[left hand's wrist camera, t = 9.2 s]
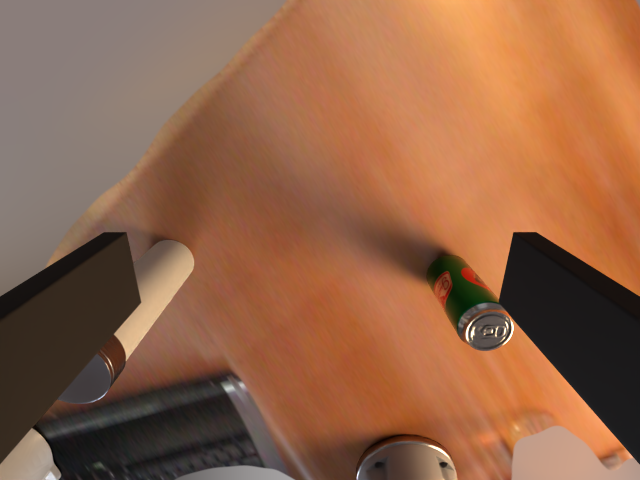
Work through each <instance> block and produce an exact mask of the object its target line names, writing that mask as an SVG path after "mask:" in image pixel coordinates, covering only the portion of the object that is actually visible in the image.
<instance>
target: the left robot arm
mask: <svg viewBox="0 0 640 480" xmlns="http://www.w3.org/2000/svg"><path fill="white" fill-rule="evenodd" d="M140 304H141V298H140V293H139V289H138V284H137V279H136V275H135V270H134V265H133V261H132V256H131V251H130V247H129V242H128V237H127V233H126V232H104V233H102V234H100V235H99V236H97V237H95V238H94V239H92V240H91V241H89V242H87V243H86V244H84V245H83V246H81V247H79V248H78V249H76V250H75V251H73V252H71V253H70V254H68V255H66V256H65V257H63V258H62V259H60V260H58V261H57V262H55V263H54V264H52V265H50V266H49V267H47V268H46V269H44V270H42V271H41V272H39V273H38V274H36V275H34V276H33V277H31V278H29V279H28V280H26V281H25V282H23V283H22V284H20V285H18V286H17V287H15V288H13V289H12V290H10V291H9V292H7V293H5V294H4V295H2V296H0V464H1V463H2V462H3V461H4V460H5V458H6V457H7V456H8V455H9V454H10V453H11V451H12V450H13V449H14V448H15V447H16V446H17V445H18V443H19V442H20V441H21V440H22V439H23V438H24V437H25V435H26V434H27V433H28V432H29V431H30V430H31V429H32V427H33V426H34V425H35V424H36V423H37V422H38V421H39V419H40V418H41V417H42V416H43V415H44V414H45V413H46V411H47V410H48V409H49V408H50V407H51V406H52V405H53V403H54V402H55V401H56V400H57V399H58V398H59V397H60V395H61V394H62V393H63V392H64V391H65V390H66V388H67V387H68V386H69V385H70V384H71V383H72V382H73V380H74V379H75V378H76V377H77V376H78V375H79V374H80V372H81V371H82V370H83V369H84V368H85V367H86V366H87V364H88V363H89V362H90V361H91V360H92V359H93V358H94V356H95V355H96V354H97V353H98V352H99V351H100V350H101V348H102V347H103V346H104V345H105V344H106V343H107V342H108V340H109V339H110V338H111V337H112V336H113V335H114V334H115V332H116V331H117V330H118V329H119V328H120V327H121V325H122V324H123V323H124V322H125V321H126V320H127V319H128V317H129V316H130V315H131V314H132V313H133V312H134V311H135V309H136V308H137V307H138V306H139V305H140ZM499 304H500V305H501V306H502V307H503V308H504V309H505V311H506V312H507V313H508V314H509V315H510V316H511V317H512V319H513V320H514V321H515V322H516V323H517V324H518V325H519V327H520V328H521V329H522V330H523V331H524V332H525V334H526V335H527V336H528V337H529V338H530V339H531V340H532V342H533V343H534V344H535V345H536V346H537V347H538V348H539V350H540V351H541V352H542V353H543V354H544V355H545V356H546V358H547V359H548V360H549V361H550V362H551V363H552V364H553V366H554V367H555V368H556V369H557V370H558V371H559V372H560V374H561V375H562V376H563V377H564V378H565V379H566V380H567V382H568V383H569V384H570V385H571V386H572V387H573V388H574V390H575V391H576V392H577V393H578V394H579V395H580V397H581V398H582V399H583V400H584V401H585V402H586V403H587V405H588V406H589V407H590V408H591V409H592V410H593V411H594V413H595V414H596V415H597V416H598V417H599V418H600V419H601V421H602V422H603V423H604V424H605V425H606V426H607V427H608V429H609V430H610V431H611V432H612V433H613V434H614V435H615V437H616V438H617V439H618V440H619V441H620V442H621V443H622V445H623V446H624V447H625V448H626V449H627V450H628V451H629V453H630V454H631V455H632V456H633V457H634V458H635V460H636V461H637V462H638V463H639V464H640V296H638V295H636V294H635V293H633V292H631V291H630V290H628V289H627V288H625V287H623V286H622V285H620V284H619V283H617V282H615V281H614V280H612V279H611V278H609V277H607V276H606V275H604V274H602V273H601V272H599V271H598V270H596V269H594V268H593V267H591V266H590V265H588V264H586V263H585V262H583V261H582V260H580V259H578V258H577V257H575V256H573V255H572V254H570V253H569V252H567V251H565V250H564V249H562V248H561V247H559V246H557V245H556V244H554V243H553V242H551V241H549V240H548V239H546V238H545V237H543V236H541V235H540V234H538V233H536V232H514V233H513V237H512V242H511V247H510V251H509V256H508V261H507V265H506V270H505V275H504V279H503V284H502V289H501V293H500V298H499ZM356 476H357V480H457V474H456V469H455V466H454V463H453V460H452V457H451V455H450V454H449V452H448V451H447V450H446V449H445V448H444V447H443V446H442V445H441V444H439V443H437V442H436V441H434V440H431V439H428V438H425V437H420V436H397V437H392V438H389V439H386V440H383V441H381V442H379V443H377V444H375V445H373V446H372V447H370V448H369V449H368V450H367V451H366V452H365V453H364V454H363V455H362V456H361V458H360V460H359V462H358V464H357V468H356Z"/></svg>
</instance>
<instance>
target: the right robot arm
mask: <svg viewBox="0 0 640 480" xmlns="http://www.w3.org/2000/svg"><path fill="white" fill-rule="evenodd" d="M60 477H61V473H60V471H59V469H58V468H57V467H56V465H55V464H54V462H53V456H52V452H51V449H50V447H49V445H48V443H47V442H46V440H45V439H44V438H43V437H42V436H41V435H40V434H39V433H38V432H37V431H35V430H34V429H33V428H32V429H31V430H30V431H29V432H28V433H27V434H26V435H25V437H24V438H23V439H22V440H21V441H20V442H19V443H18V445H17V446H16V447H15V448H14V449H13V450H12V451H11V453H10V454H9V455H8V456H7V457H6V458H5V460H4V461H3V462H2V463H1V464H0V480H58V479H59V478H60Z"/></svg>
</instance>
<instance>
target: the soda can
mask: <svg viewBox="0 0 640 480" xmlns="http://www.w3.org/2000/svg"><path fill="white" fill-rule="evenodd" d="M426 278H427V282H428V284H429V286H430V288H431V289H432V291H433V293H434V294H435V296H436V298H437V300H438V301H439V303H440V305H441V306H442V308H443V310H444V312H445V313H446V315H447V317H448V318H449V320H450V322H451V324H452V325H453V327H454V329H455V330H456V332H457V334H458V336H459V337H460V339H461V340H462V341H463V342H465V343H466V344H468V345H470V346H471V347H473V348H475V349H477V350H481V351H489V350H494V349H497V348H499V347H501V346H502V345H504V344H505V343H506V342H507V341H508V340H509V338H510V337H511V335H512V332H513V324H512V319H511V316H510V315H509V314H508V313H507V312H506V311H505V309H504V308H503V307H502V306H501V305H500V304H499V299H498V298H497V297H496V296H495V294H494V293H493V292H492V291H491V290H490V289H489V288H488V287H487V285H486V284H485V283H484V282H483V281H482V280H481V279H480V278H479V276H478V275H477V274H476V273H475V272H474V271H473V270H472V269H471V267H470V266H469V265H468V264H467V263H466V262H465V261H464V260H463V259H462V258H460V257H458V256H455V255H446V256H442V257H440V258H438V259H436V260H435V261H434V262H433V263H432V264H431V265H430V266H429V268H428V270H427V275H426Z"/></svg>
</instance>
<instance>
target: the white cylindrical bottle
mask: <svg viewBox="0 0 640 480" xmlns="http://www.w3.org/2000/svg"><path fill="white" fill-rule="evenodd" d="M133 265H134V270H135V275H136V279H137V284H138V289H139V293H140V298H141V304H140V305H139V306H138V307H137V308H136V309H135V311H134V312H133V313H132V314H131V315H130V316H129V317H128V319H127V320H126V321H125V322H124V323H123V324H122V325H121V327H120V328H119V329H118V330H117V331H116V332H115V334H114V335H115V336H116V337H117V338H118V339H119V340H120V342H121V343H122V345H123V347H124V350H125V353H126V360H127V359H128V357H129V356H130V355H131V353H132V352H133V351H134V349H135V348H136V347H137V345H138V344H139V342H140V341H141V340H142V338H143V337H144V336H145V334H146V333H147V332H148V330H149V329H150V328H151V326H152V325H153V324H154V322H155V321H156V319H157V318H158V317H159V315H160V314H161V313H162V311H163V310H164V309H165V307H166V306H167V305H168V303H169V302H170V301H171V299H172V298H173V296H174V295H175V294H176V292H177V291H178V290H179V288H180V287H181V286H182V284H183V283H184V282H185V280H186V279H187V278H188V276H189V275H190V273H191V272H192V270H193V268H194V258H193V255H192V253H191V251H190V250H189V249H188V248H187V247H186V246H185V245H184V244H182V243H180V242H178V241H174V240H163V241H160V242H158V243H156V244H155V245H154V246H153V247H152V248H150V249H149V250H148V251H147V252H146V253H145V254H144V255H143V256H141V257H140V258H139V259H138V260H137V261H136V262H135V263H134V264H133Z"/></svg>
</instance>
